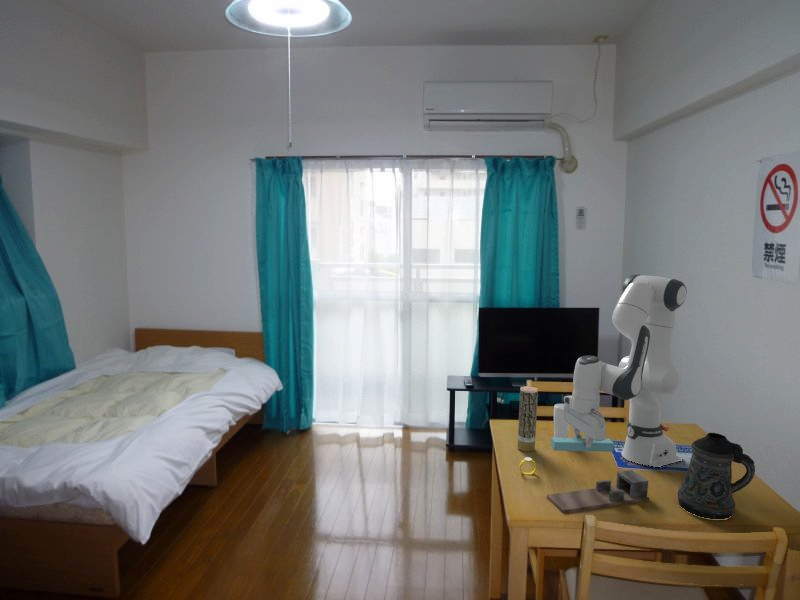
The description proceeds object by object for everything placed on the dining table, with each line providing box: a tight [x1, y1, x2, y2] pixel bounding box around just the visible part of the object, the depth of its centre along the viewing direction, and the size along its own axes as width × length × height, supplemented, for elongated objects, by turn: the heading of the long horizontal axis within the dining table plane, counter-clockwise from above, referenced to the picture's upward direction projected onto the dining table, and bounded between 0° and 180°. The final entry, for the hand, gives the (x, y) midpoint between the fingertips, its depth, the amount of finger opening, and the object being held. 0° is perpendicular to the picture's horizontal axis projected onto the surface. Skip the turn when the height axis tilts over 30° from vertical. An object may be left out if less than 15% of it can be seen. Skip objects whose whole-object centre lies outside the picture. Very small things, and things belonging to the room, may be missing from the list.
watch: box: [518, 456, 538, 476], centre depth 203 cm, size 6×3×6 cm, turn 89°
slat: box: [550, 436, 615, 453], centre depth 191 cm, size 20×4×3 cm, turn 91°
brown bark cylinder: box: [517, 385, 539, 453], centre depth 224 cm, size 7×7×25 cm
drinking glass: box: [553, 403, 570, 438], centre depth 233 cm, size 7×7×15 cm
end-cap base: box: [546, 469, 650, 514], centre depth 186 cm, size 32×10×6 cm, turn 105°
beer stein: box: [677, 432, 756, 519], centre depth 180 cm, size 16×19×25 cm
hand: (582, 443), depth 191 cm, fingers closed on slat, 5 cm apart
